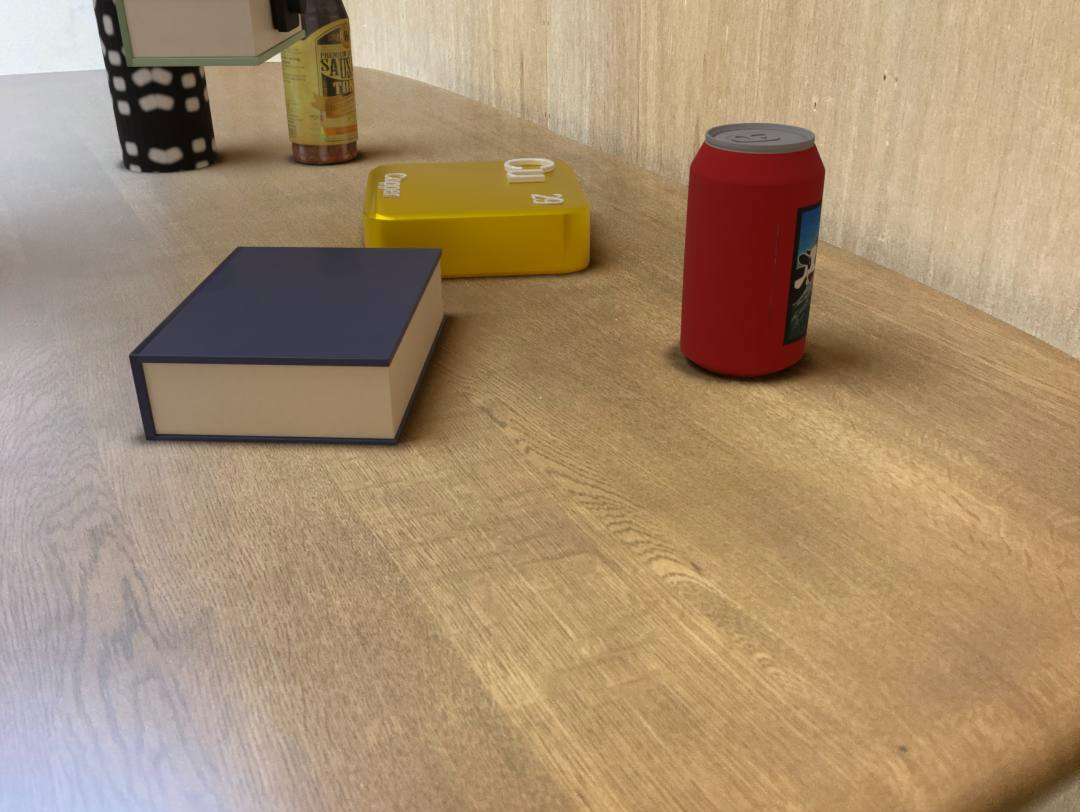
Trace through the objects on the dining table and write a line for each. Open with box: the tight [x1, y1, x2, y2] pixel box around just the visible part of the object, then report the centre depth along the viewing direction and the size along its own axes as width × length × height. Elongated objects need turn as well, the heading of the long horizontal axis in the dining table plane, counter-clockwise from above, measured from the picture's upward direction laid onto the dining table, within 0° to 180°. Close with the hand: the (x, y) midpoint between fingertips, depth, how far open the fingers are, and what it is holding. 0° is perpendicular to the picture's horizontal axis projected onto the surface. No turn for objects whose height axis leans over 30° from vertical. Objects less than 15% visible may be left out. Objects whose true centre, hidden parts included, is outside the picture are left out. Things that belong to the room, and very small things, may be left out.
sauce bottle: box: [279, 0, 359, 166], centre depth 100 cm, size 7×6×20 cm
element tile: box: [361, 157, 591, 279], centre depth 80 cm, size 15×15×5 cm
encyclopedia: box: [128, 245, 447, 446], centre depth 60 cm, size 12×17×4 cm
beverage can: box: [679, 122, 826, 378], centre depth 59 cm, size 7×7×12 cm
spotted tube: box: [91, 0, 219, 174], centre depth 100 cm, size 8×8×20 cm
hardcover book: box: [115, 0, 305, 67], centre depth 63 cm, size 11×7×4 cm, turn 177°
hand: (219, 27), depth 63 cm, fingers closed on hardcover book, 7 cm apart
